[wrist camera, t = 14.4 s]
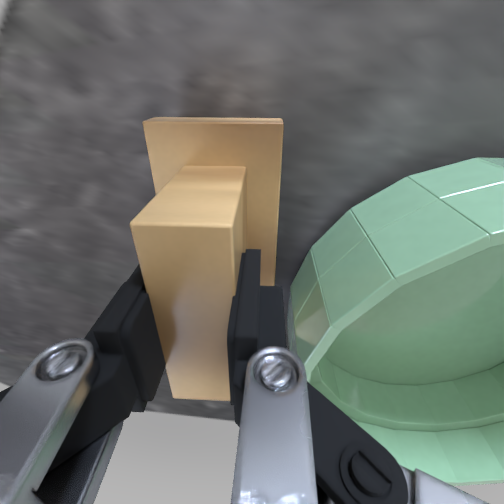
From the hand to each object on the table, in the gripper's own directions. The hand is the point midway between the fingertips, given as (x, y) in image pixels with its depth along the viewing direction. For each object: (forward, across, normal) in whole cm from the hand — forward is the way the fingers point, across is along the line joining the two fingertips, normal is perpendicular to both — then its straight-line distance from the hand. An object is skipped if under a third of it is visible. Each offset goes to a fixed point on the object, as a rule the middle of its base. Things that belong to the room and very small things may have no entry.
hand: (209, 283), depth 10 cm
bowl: (+5, -12, +5) cm, 14 cm away
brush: (+5, 0, 0) cm, 5 cm away
